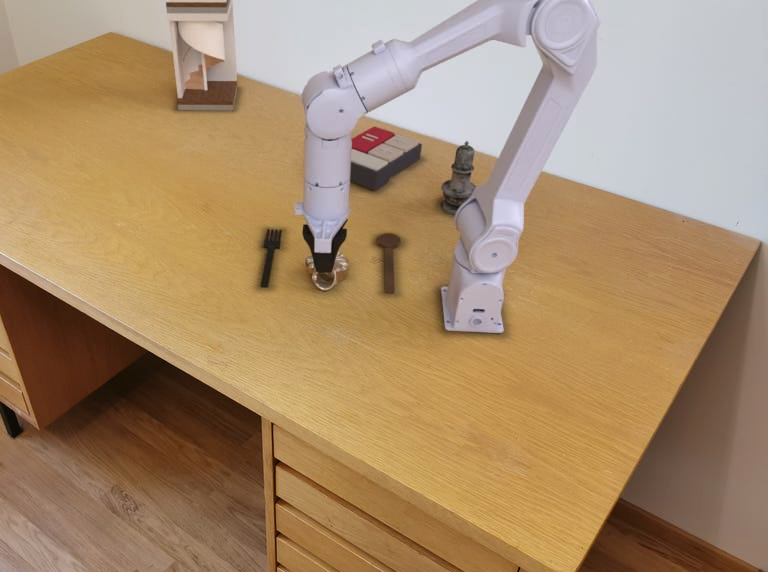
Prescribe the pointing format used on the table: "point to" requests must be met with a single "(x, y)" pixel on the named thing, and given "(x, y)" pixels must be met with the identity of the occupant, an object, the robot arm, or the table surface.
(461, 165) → the grey stone chess piece
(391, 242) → the brown disc-ended stick
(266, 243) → the black fork
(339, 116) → the robot arm
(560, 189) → the table surface
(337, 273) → the ornament
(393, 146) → the calculator
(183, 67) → the spiral staircase model
